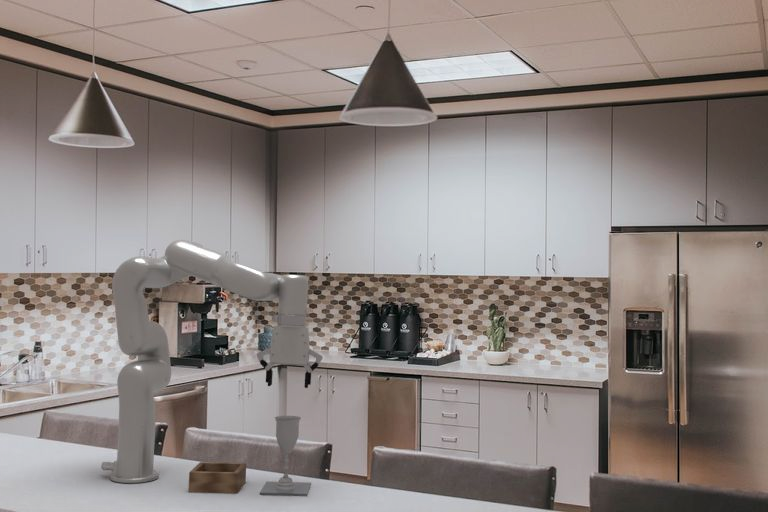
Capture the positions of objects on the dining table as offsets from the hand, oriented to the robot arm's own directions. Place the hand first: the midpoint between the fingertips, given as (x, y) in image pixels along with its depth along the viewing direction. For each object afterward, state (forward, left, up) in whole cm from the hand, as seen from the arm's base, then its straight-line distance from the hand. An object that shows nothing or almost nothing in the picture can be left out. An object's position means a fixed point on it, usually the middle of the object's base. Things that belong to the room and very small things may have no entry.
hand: (288, 386), depth 203 cm
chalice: (0, 0, -26) cm, 26 cm away
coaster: (0, 0, -27) cm, 27 cm away
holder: (-18, +1, -27) cm, 32 cm away
